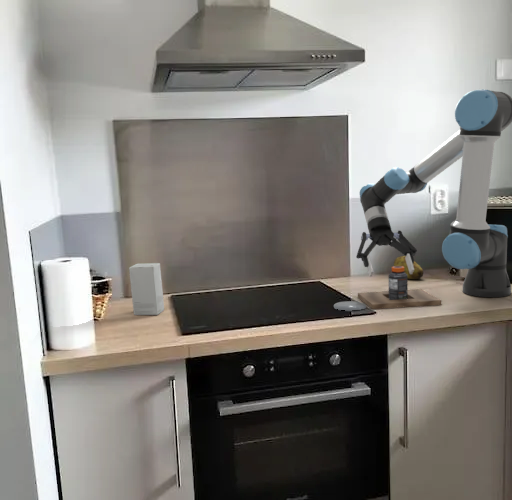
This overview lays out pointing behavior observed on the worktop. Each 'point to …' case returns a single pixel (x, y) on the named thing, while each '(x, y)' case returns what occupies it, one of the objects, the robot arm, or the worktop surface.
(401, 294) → the pill bottle
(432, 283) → the worktop surface
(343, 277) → the worktop surface
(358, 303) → the coaster
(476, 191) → the robot arm
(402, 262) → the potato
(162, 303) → the skincare box
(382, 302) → the pocket board
